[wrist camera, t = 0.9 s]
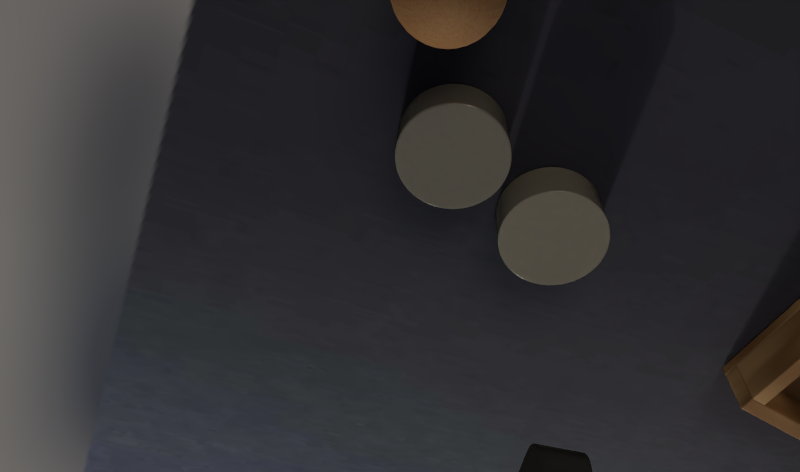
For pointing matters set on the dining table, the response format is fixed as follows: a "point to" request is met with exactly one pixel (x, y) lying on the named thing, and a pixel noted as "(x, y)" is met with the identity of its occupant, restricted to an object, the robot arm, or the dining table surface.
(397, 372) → the dining table surface
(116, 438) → the dining table surface
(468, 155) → the grey short cylinder
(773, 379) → the egg tray
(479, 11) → the egg
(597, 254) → the grey short cylinder
